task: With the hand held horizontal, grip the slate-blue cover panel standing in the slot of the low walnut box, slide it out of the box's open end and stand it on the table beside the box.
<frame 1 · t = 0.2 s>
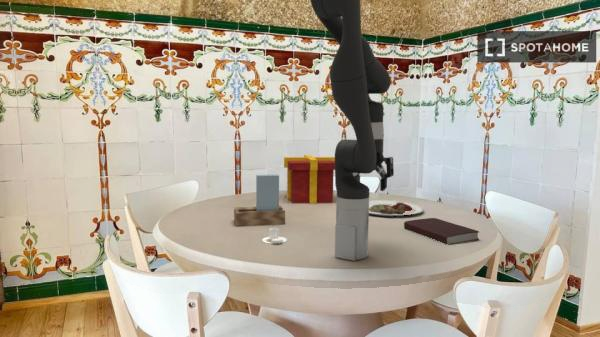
hand: (369, 188, 136), 17 cm above the table, tool pointing down, fingers open, 8 cm apart
gift box: (310, 199, 210), on the table
plated food: (387, 211, 187), on the table
teacup and saucer: (267, 244, 139), on the table
cover panel: (267, 222, 163), resting in slot box
book: (439, 236, 150), on the table
slot box: (259, 223, 163), on the table
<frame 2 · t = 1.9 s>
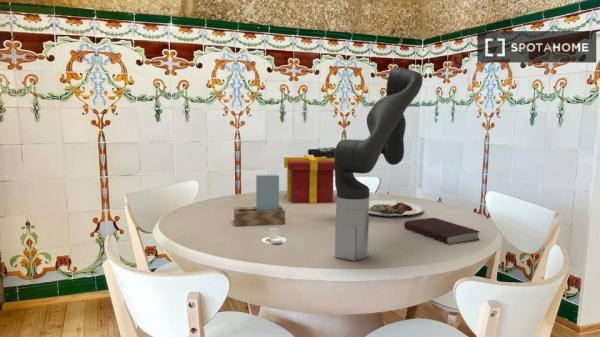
hand: (310, 153, 164), 26 cm above the table, tool horizontal, fingers open, 8 cm apart
nothing on the table moved.
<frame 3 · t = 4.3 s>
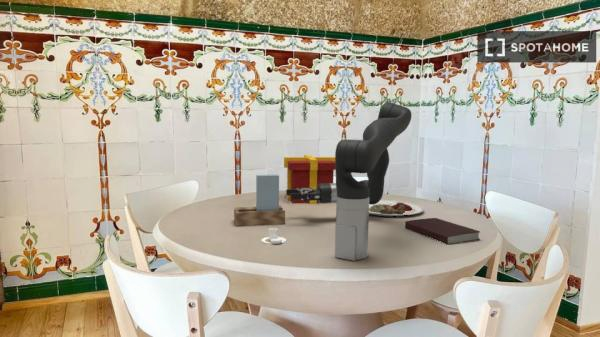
hand: (288, 194, 164), 11 cm above the table, tool horizontal, fingers open, 8 cm apart
nothing on the table moved.
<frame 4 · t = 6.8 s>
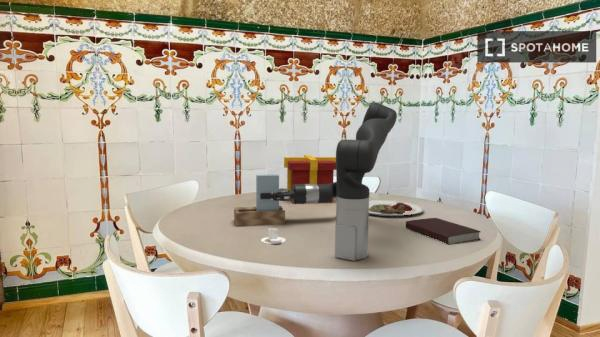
hand: (260, 195, 161), 11 cm above the table, tool horizontal, fingers closed on cover panel, 3 cm apart
cover panel: (267, 222, 163), resting in slot box, touching gripper
everything else where it was.
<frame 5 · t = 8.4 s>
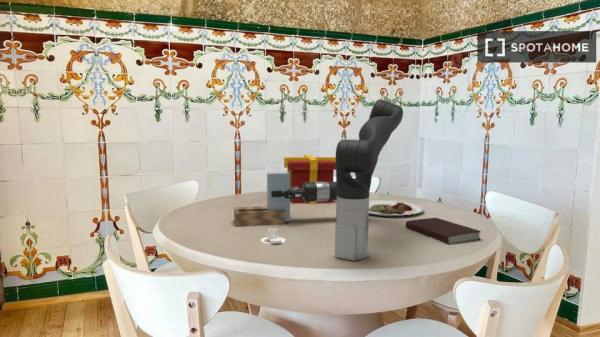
hand: (271, 193, 162), 11 cm above the table, tool horizontal, fingers closed on cover panel, 3 cm apart
cover panel: (278, 220, 164), point 1 cm above the table, touching gripper
everything else where it was.
when the fingers open (11 cm above the table, at t = 10.4 s): cover panel stays where it is, on the table.
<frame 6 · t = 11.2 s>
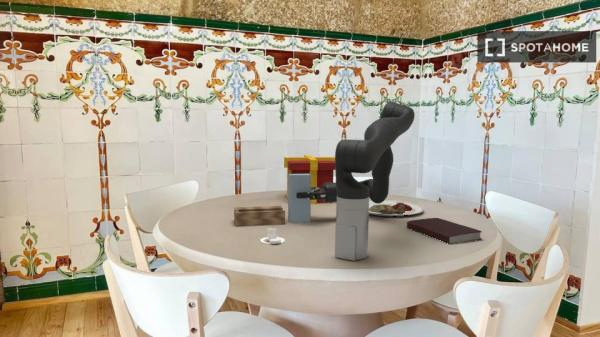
hand: (294, 193, 164), 11 cm above the table, tool horizontal, fingers open, 8 cm apart
cover panel: (299, 221, 166), on the table
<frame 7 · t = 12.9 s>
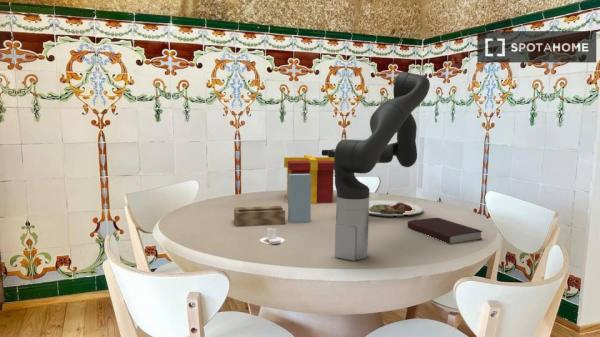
hand: (324, 153, 163), 26 cm above the table, tool horizontal, fingers open, 8 cm apart
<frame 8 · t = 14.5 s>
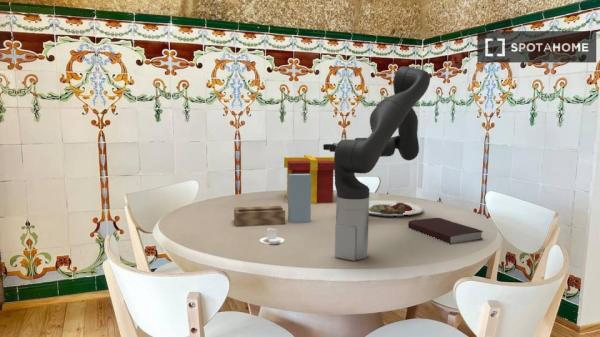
hand: (326, 147, 163), 28 cm above the table, tool horizontal, fingers open, 8 cm apart
at the end: cover panel inside the target area (0.4 cm from its centre), on the table; cover panel tilted 0°; the gripper is holding nothing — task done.
